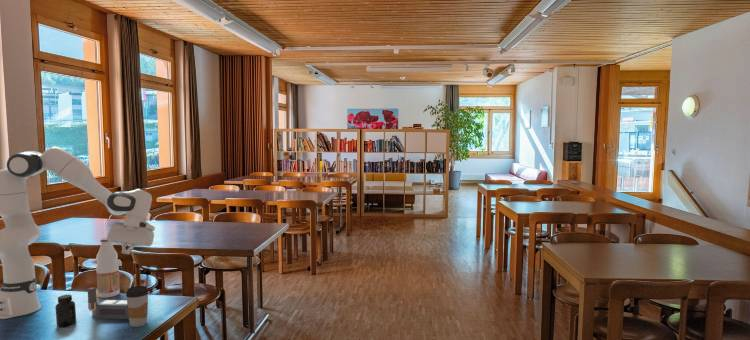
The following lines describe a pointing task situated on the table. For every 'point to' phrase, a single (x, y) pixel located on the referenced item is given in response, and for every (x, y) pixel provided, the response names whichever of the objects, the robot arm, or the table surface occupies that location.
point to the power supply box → (111, 310)
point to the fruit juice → (107, 270)
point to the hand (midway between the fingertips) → (125, 253)
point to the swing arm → (92, 298)
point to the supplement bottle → (65, 311)
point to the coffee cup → (137, 305)
